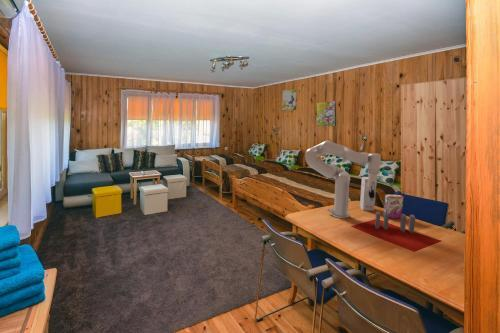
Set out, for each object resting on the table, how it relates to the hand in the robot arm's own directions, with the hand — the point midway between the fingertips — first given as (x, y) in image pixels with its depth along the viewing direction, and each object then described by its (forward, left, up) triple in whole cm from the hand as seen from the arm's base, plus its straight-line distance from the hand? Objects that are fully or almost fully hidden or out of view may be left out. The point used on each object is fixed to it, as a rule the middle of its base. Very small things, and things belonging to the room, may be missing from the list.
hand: (371, 196), depth 200 cm
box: (0, +26, -17) cm, 31 cm away
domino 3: (+8, -15, -17) cm, 24 cm away
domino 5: (+23, -15, -17) cm, 32 cm away
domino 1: (0, 0, -3) cm, 3 cm away
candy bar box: (+16, +10, -17) cm, 26 cm away
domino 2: (+3, -15, -17) cm, 23 cm away
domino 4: (+18, -15, -17) cm, 29 cm away
